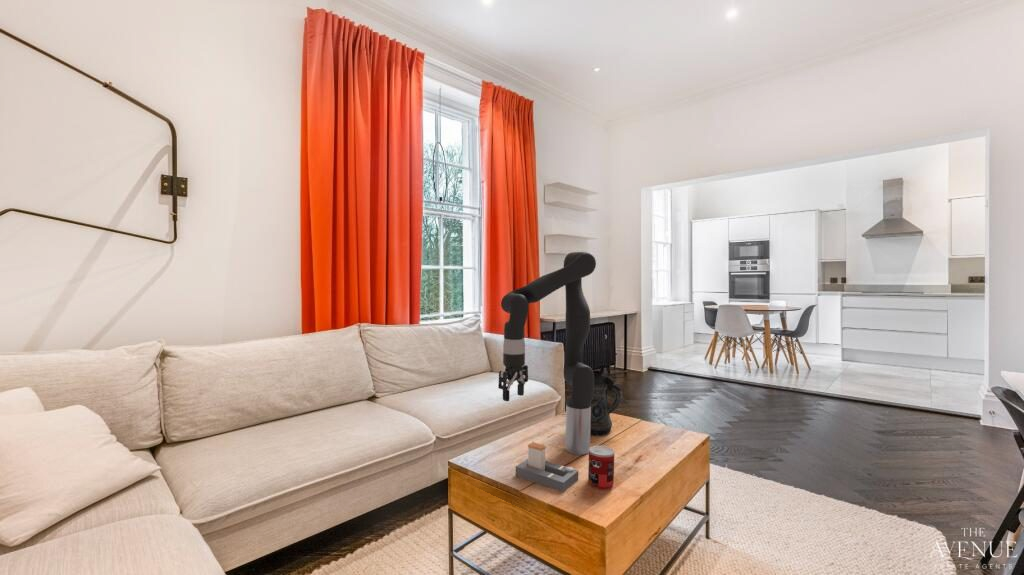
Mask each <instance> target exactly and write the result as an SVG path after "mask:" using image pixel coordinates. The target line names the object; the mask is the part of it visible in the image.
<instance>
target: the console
mask: <svg viewBox="0 0 1024 575" xmlns="http://www.w3.org/2000/svg"><path fill="white" fill-rule="evenodd" d="M515 476H517V477H519V478H522V479H524V480H527V481H530V482H533V483H536V484H538V485H541V486H545V487H548V488H550V489H552V490H556V491H559V492H562V493H564V492H565V491H567V490H568V489H569V488H570V487H572V486H573V485H574V484H575V483H576V482H578V481H579V470H577V469H575V468H574V467H572V466H565V465H561V464H558V463H555V462H552V461H549V460H546V459H545V471H544V470H541V469H538V468H535V467H532V466H528V458H527V459H526V460H524V461H522V462H520V463H519V464H518V465H515Z"/></svg>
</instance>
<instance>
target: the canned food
mask: <svg viewBox="0 0 1024 575" xmlns="http://www.w3.org/2000/svg"><path fill="white" fill-rule="evenodd" d="M587 466H588V467H587V468H588V470H587V471H588V474H587V475H588V477H587V478H588V479H587V481H588V483H589V485H590V486H591V487H592V488H594V489H597V490H609V489H612V488H613V486H614V478H615V450H614V449H613V448H611V447H609V446H605V445H593V446H590V448H589V453H588V465H587Z"/></svg>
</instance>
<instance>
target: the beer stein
mask: <svg viewBox="0 0 1024 575" xmlns="http://www.w3.org/2000/svg"><path fill="white" fill-rule="evenodd" d="M593 373H594V393H593V399H592V401H591V429H590V436H592V435H593V437H596V436H597V437H599V436H600V437H602V436H605V435H608V434H610V433H611V429H612V427H613V422H612V419H611V416H610V414H612V413H613V412H614V411H615V410H616V409H617V408H619V406H620V404H621V403H622V400H623V391H622V389H621V387H620V386H619V385H618V384H617V383H615V381H614V379H613V377H611V376H606V375H605V374H604V373H603V372H602V371H600V370H599V371H598V370H593ZM608 391H610V392H614V393H615V395H616V397H615V399H614V401H613V402H612V404H611V405H610V406H609V398H608V397H609V396H608Z"/></svg>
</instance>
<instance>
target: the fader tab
mask: <svg viewBox="0 0 1024 575" xmlns="http://www.w3.org/2000/svg"><path fill="white" fill-rule="evenodd" d="M527 447H528V452H527V453H528V454H527V455H528V458H527V459H528V466H532V467H535V468H538V469H541V470H544V471H545V460H546V448H547V445H544V444H540V443H537V442H534V441H532V442H530V443H528V445H527Z"/></svg>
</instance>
